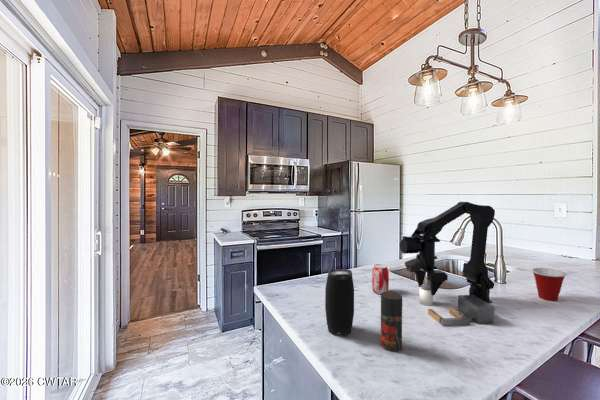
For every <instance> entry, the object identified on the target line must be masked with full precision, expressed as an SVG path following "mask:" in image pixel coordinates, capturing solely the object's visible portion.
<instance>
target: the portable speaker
mask: <svg viewBox="0 0 600 400" xmlns="http://www.w3.org/2000/svg"><path fill="white" fill-rule="evenodd" d="M325 283H326V284H325V296H324V297H325V301H324V304H325V305H324V309H325V316H326V317H325V318H326V326H327V331H328V333H329V334H331V335H336V334H342V335H344V336H349V335H350V334H351V333H352V330H353V329H352V328H353V323H354V316H355V287H354V286H355V285H354V279H353V272H352V269H349V268H337V269H336V268H328V270H327V277H326V282H325Z"/></svg>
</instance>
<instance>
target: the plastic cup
mask: <svg viewBox="0 0 600 400" xmlns="http://www.w3.org/2000/svg"><path fill="white" fill-rule="evenodd" d="M531 271H532V273H533V277H534V280H535V284H536V285H535V286H536V289H537V296H538V297H539V298H540V299H542V300H545V301H549V302H557V301H558V299H559V295H560V292H561V289H562V286H563V282H564V279H565V277H566V275H567V273H566V272H565V271H562V270H561V269H556V268H551V267H532V268H531Z"/></svg>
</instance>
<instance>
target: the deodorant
mask: <svg viewBox="0 0 600 400" xmlns="http://www.w3.org/2000/svg"><path fill="white" fill-rule="evenodd" d="M402 344H403V295H402V294H401V293H398V292H394V291H388V292H383V293H381V294H380V347H381V348H382V349H384V350H386V351H388V352H391V353H392V352H393V353H396V352H400V351H401V350H402V349H403V345H402Z"/></svg>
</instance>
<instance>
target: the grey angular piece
mask: <svg viewBox="0 0 600 400" xmlns="http://www.w3.org/2000/svg"><path fill="white" fill-rule="evenodd" d="M448 313H449V314H450V315H451V316H452V317H449V318H448V317H447V318H443V317H444V316H441V314H439V313H438V312H436V311H435V310H434V309H433V308H428V309H427V314H428V316H430V317H431V318H432V319H433V320H435V322H437V323H438V324H440V325H441V326H442V327H449V326H450V327H452V326H455V327H456V326H469V325H470V323H474V324H477V325H485V324H486V325H488V324H494V323H495V305H493V304H491V303H487V302H485V301H484V300H482V299H480V298H478V297H476V296H474V295H469V294H465V295H464V294H463V295H457V310H456V309H454V307H449V308H448Z"/></svg>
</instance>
